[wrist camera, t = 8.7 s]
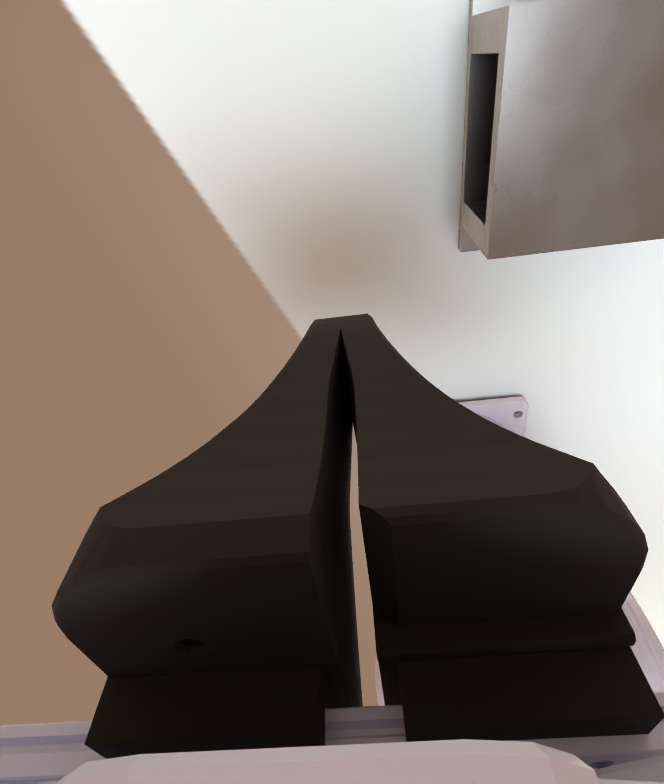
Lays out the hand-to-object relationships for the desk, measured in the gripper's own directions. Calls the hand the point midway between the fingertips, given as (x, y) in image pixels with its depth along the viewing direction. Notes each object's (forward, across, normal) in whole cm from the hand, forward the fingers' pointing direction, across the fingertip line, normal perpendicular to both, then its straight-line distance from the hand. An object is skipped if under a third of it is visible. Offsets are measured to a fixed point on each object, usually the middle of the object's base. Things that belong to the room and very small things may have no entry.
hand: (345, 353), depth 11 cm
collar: (+10, -9, -3) cm, 14 cm away
